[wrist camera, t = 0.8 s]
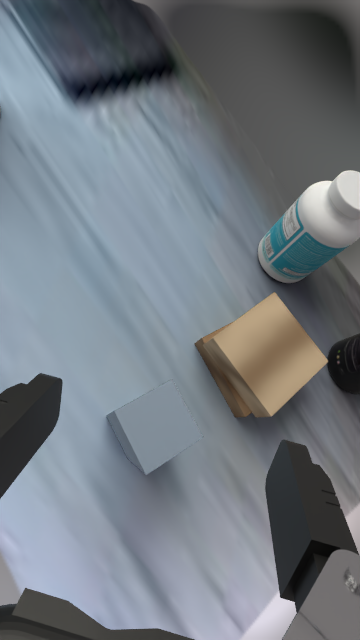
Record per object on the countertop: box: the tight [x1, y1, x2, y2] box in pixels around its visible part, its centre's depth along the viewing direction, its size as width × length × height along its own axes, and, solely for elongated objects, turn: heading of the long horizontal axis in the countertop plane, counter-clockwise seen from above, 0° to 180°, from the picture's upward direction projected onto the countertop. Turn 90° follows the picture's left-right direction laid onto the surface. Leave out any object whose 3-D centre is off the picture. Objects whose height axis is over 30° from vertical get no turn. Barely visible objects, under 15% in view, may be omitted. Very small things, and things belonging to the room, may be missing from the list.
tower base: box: [195, 322, 252, 417], centre depth 36 cm, size 9×9×3 cm
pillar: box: [106, 379, 203, 475], centre depth 27 cm, size 4×4×11 cm
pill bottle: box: [258, 171, 360, 283], centre depth 36 cm, size 8×7×14 cm
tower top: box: [203, 292, 328, 417], centre depth 33 cm, size 9×9×3 cm
